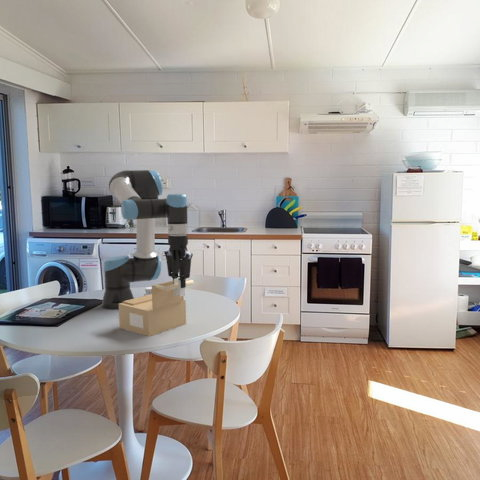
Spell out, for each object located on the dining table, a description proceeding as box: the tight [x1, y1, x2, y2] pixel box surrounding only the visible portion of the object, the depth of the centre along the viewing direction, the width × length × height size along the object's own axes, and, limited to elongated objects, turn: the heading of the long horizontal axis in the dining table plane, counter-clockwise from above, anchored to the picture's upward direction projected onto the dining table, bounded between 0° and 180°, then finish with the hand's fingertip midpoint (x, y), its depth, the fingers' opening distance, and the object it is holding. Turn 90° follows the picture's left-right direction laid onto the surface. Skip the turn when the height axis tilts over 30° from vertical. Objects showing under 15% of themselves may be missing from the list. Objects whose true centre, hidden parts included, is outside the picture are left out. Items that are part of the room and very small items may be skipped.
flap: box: [151, 279, 195, 309], centre depth 179 cm, size 10×16×8 cm
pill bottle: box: [143, 286, 152, 296], centre depth 207 cm, size 6×6×12 cm
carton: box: [118, 294, 187, 337], centre depth 189 cm, size 18×20×11 cm
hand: (179, 295), depth 177 cm, fingers closed on flap, 2 cm apart
